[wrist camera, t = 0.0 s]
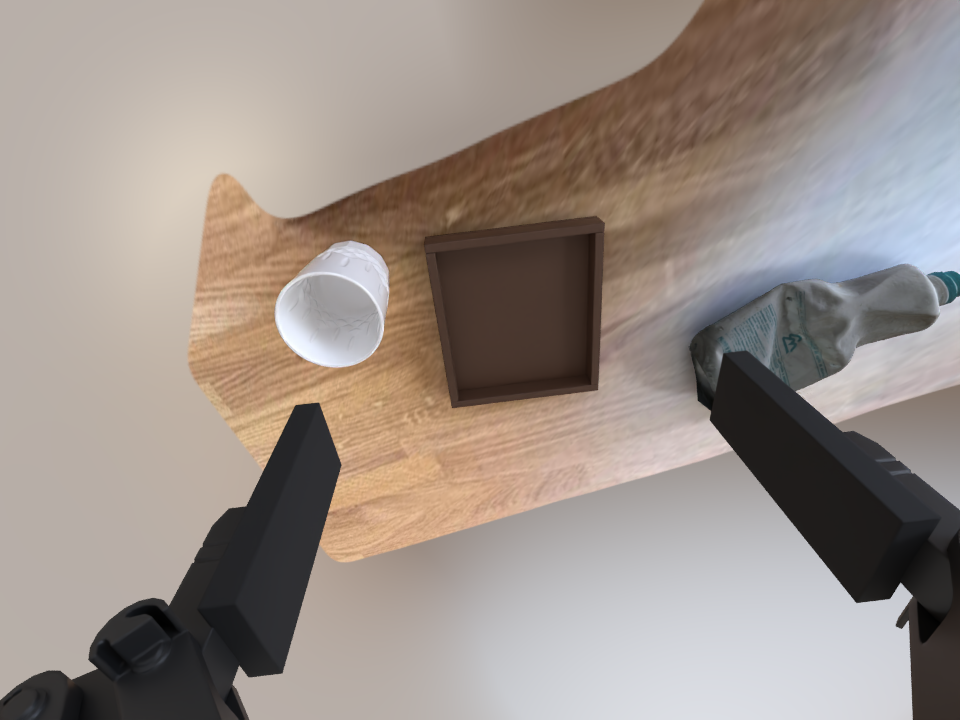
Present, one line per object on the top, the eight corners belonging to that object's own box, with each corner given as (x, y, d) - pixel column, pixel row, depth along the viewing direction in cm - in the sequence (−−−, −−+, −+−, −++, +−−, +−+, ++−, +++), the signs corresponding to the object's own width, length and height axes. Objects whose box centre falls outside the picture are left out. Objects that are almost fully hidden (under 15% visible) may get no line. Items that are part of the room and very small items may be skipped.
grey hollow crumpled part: (688, 409, 52) (920, 331, 48) (718, 447, 46) (988, 361, 42) (664, 312, 47) (922, 214, 43) (693, 340, 41) (1001, 228, 36)
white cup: (356, 215, 39) (331, 250, 31) (413, 284, 43) (405, 332, 34) (291, 266, 41) (250, 312, 33) (351, 328, 45) (328, 384, 36)
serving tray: (425, 236, 40) (424, 244, 38) (596, 215, 40) (604, 222, 38) (451, 394, 50) (452, 408, 47) (591, 377, 50) (598, 390, 47)
